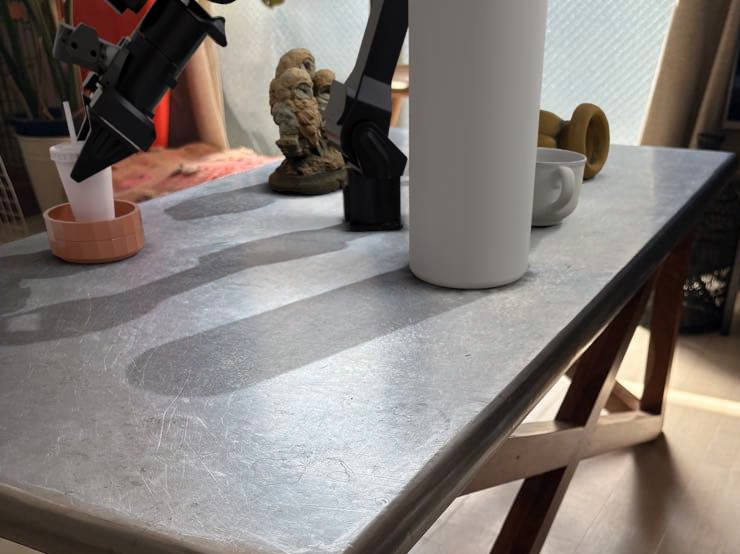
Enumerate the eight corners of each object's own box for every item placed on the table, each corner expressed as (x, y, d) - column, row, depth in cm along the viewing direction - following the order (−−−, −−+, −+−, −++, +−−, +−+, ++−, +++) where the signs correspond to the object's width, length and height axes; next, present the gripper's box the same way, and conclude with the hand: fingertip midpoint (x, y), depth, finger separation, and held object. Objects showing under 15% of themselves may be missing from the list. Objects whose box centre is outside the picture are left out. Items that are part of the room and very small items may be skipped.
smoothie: (58, 240, 98) (25, 102, 90) (106, 227, 102) (78, 94, 94) (92, 250, 95) (61, 108, 87) (140, 236, 99) (115, 99, 91)
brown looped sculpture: (488, 101, 139) (618, 87, 127) (482, 188, 142) (608, 183, 130) (420, 73, 125) (559, 54, 112) (415, 171, 128) (550, 162, 115)
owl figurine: (331, 200, 118) (324, 56, 108) (250, 195, 120) (236, 54, 111) (370, 171, 132) (367, 41, 122) (297, 167, 134) (288, 40, 125)
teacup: (486, 210, 113) (489, 143, 109) (568, 208, 114) (574, 141, 109) (505, 241, 102) (509, 168, 97) (597, 238, 103) (605, 166, 98)
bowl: (150, 237, 104) (144, 197, 101) (140, 263, 96) (133, 221, 93) (62, 240, 103) (53, 200, 100) (44, 267, 95) (33, 224, 92)
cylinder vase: (510, 297, 86) (529, -1, 72) (392, 283, 90) (387, -3, 76) (539, 260, 96) (561, -9, 82) (431, 249, 99) (434, -11, 85)
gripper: (84, -17, 93) (3, 105, 97) (95, -8, 79) (-1, 135, 82) (171, 63, 100) (92, 174, 103) (196, 84, 85) (103, 213, 89)
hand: (72, 173), depth 94 cm, fingers closed on smoothie, 6 cm apart
